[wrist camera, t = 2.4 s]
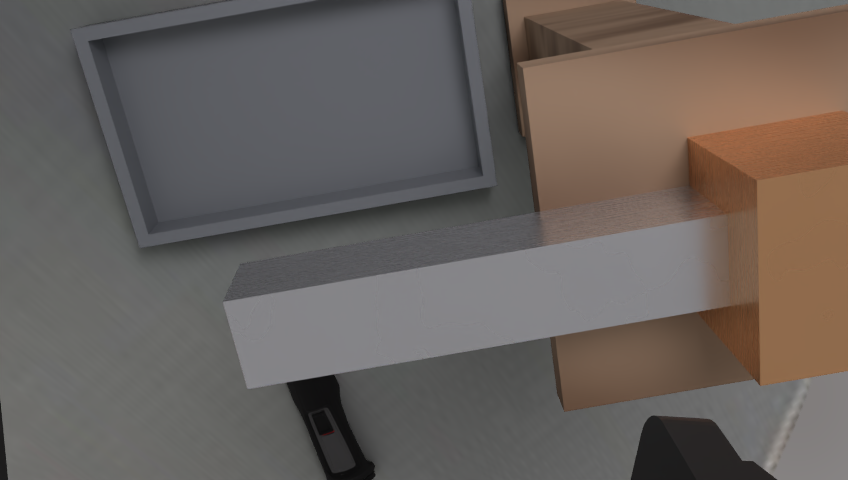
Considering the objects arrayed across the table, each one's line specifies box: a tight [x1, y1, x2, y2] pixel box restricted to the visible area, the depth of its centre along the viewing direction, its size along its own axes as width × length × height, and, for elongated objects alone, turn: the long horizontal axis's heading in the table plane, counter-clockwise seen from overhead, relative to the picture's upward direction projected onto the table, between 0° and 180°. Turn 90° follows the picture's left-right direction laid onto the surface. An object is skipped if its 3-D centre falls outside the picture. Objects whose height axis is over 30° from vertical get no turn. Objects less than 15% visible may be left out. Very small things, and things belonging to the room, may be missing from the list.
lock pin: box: [223, 110, 848, 389], centre depth 19 cm, size 5×16×4 cm, turn 99°
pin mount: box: [503, 0, 848, 412], centre depth 36 cm, size 10×12×32 cm
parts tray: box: [71, 0, 497, 248], centre depth 50 cm, size 14×24×3 cm, turn 100°
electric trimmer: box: [287, 374, 375, 480], centre depth 58 cm, size 4×16×3 cm, turn 18°
